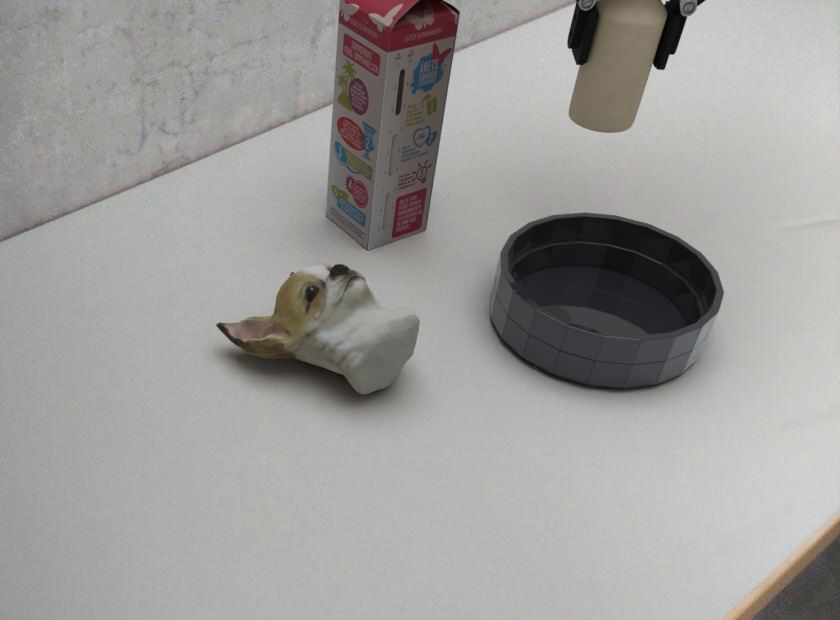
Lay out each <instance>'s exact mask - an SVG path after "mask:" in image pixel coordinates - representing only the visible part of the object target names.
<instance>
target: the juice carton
mask: <svg viewBox="0 0 840 620" xmlns="http://www.w3.org/2000/svg"><path fill="white" fill-rule="evenodd" d="M460 15H461V11H460V10H459V9H458V8H457V7H456V6H454V5H453V4H451V3H449V2H448V1H445V0H339V6H338V19H337V21H338V22H337V35H336V50H335V64H334V65H335V66H334V79H333V81H334V82H333V95H332V109H331V127H330V141H329V155H328V156H329V157H328V171H327V185H326V200H325V217H326V218H328V219H329V220H330V221H332V222H333V223H334V224H335V225H337V226H338V228H340V229H341V230H342V231H344V233H346V234H347V235H348V236H350V237H351V238H352V239H353V240H354V241H356V242H357V243H358V244H359V245H360V246H362V247H363V248H364V249H365V250H366V251H370V250H373V249H375V248H378V247H381V246H384V245H387V244H391V243H393V242H396V241H399V240H401V239H405V238H408V237H411V236H413V235H417V234H419V233H422V232H424V231H426V230H427V227H428V222H429V214H430V210H431V209H430V207H431V201H432V195H433V189H434V182H435V177H436V176H435V175H436V170H437V164H438V157H439V150H440V143H441V137H442V133H443V132H442V130H443V125H444V118H445V113H446V112H445V111H446V106H447V99H448V92H449V86H450V80H451V73H452V67H453V62H454V61H453V60H454V54H455V48H456V40H457V35H458V29H459V21H460Z"/></svg>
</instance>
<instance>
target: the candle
mask: <svg viewBox="0 0 840 620" xmlns="http://www.w3.org/2000/svg"><path fill="white" fill-rule="evenodd" d="M663 4H664V2H663V1H662V0H598V2H597V6H596V7H597V10H598V12H599V17H598V21H597V25H596V29H595V33H594V36H593V40H592V44H591V48H590V52H589V56H588V60H587V63H586V64H585V63H584V65H578V66H579V67H578V70H577V74H576V78H575V82H574V86H573V91H572V94H571V98H570V103H569V106H568V117H569V119H570V120H571V121H572V122H573V123H574V124H576V125H577V126H579V127H581V128H582V129H583V128H584V129H586V130H588V131H592V132H596V133H604V134H617V133H622V132H625V131H627V130H629V129H631V128H632V127H633V125H634V123H635V121H636V118H637V114H638V112H639V110H640V107H641V103H642V99H643V96H644V94H645V90H646V86H647V83H648V80H649V76H650V75H651V74H650V73H651V71H652V67H653V61H654V58H655V54H656V51H657V48H658V45H659V42H660V38H661V35H662V32H663V29H664V25H665V22H666V19H667V16H668V13H667V10H666V8H665V6H664V5H663Z"/></svg>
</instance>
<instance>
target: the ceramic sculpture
mask: <svg viewBox="0 0 840 620" xmlns="http://www.w3.org/2000/svg"><path fill="white" fill-rule="evenodd" d="M420 324H421V322H420V318H419V317H418V316H417V314H416V313H415V312H414V309H412V308H410V307H403V306H396V305H391V304H388V303H385V302H383V301H381V300H380V299H378V297H377V296H376V295H375V294H374V293H373V292H372V290H371V289H370V287H369V285H368V283H367V280H366V277H365V276H364V275H363V274H362V273H361V272H359V271H357V270H355V269H352V268H350V267H349V266H348V265H345V264H343V263H337V264H334V265H333V266H332V265H330V264H327V263H314V264H312V265H311V264H310V265H308V266H306V267H304V268H301V269H299V270H298V271H296V272H294V271H291V272H290V274H289V277H288V278H287V279H286V280H285V281H284V282H283V284H282V285H280V287H279V290H278V291H277V294H276V297H275V305H274V309H273V313H272V314H271V315H266V316H250V317H249V316H248V317H246V318H245V319H243V320H240V321H238V322H217V323H215V326H216V327H217V329H218V330H219V331H220V332H221V334H223V335H224V337H226V338H227V339H228V340H229V341H230V342H231V343H232V344H233V345H235V346H236V347H238V348H240V349H241V350H242V351H245V352H246V353H248V354H249V355H251V356H254V357H257V358H262V359H286V360H290V359H291V360H292V359H296V360H298V361H302V362H305V363H307V364H311V365H313V366H316V367H320V368H324V369H326V370H329V371H331V372H334V373H336V374H341V375H343V376H344V378H345V379H346V381H347V382H348V384H350V386H351V387H352V388H353V390H354V391H356V392H357V393H358V394H360V395H364V396H365V395H368V394H371V393H373V392H376V391H380V390H384V389H386V388H387V387H389V386H390V385H392V383H394V381H395V380H396V378H397V376H398V375H399V374H400V372H401V371H402V369H403V367H404V366H405V364H406V363H407V362H409V360H410V359H411V357H413V355H414V352H415V348H416V345H417V342H418V335H419V331H420Z"/></svg>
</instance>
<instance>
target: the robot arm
mask: <svg viewBox="0 0 840 620" xmlns="http://www.w3.org/2000/svg"><path fill="white" fill-rule="evenodd" d="M705 1H706V0H665V2H664V3H663V5H664V6H665V8H666V10H667V13H668V16H667V19H666V22H665V25H664V29H663V32H662V35H661V38H660V42H659V45H658V48H657V51H656V54H655V58H654V61H653V64H652V66H653V67H654V68H655V69H656V70H659V71H665V69H666V66H667V65H668V61H669V58H670V55H671V56H674V55H675V54H676V53H677V50H678V47H679V44H680V40H681V39H682V38H681V37H682V35H683V32H684V29H685V26H686V23H687V19H688V17H690V16H692V15H694V14H695V12H696V11H697V9H698V7H699V6H700V5H702V4H703V3H705ZM597 2H598V0H575V6H574V10H573V14H572V18H571V23H570V27H569V31H568V35H567V43H566V44H567V48H568V50H569V49H570V50H571V52H572V56H573V59H574V62H575V65H577V66H580V65H584V63H585V64H586V63H587V60H588V56H589V52H590V48H591V44H592V40H593V36H594V33H595V29H596V25H597V21H598V17H599V12H598V10H597V7H596V6H597Z"/></svg>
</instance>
